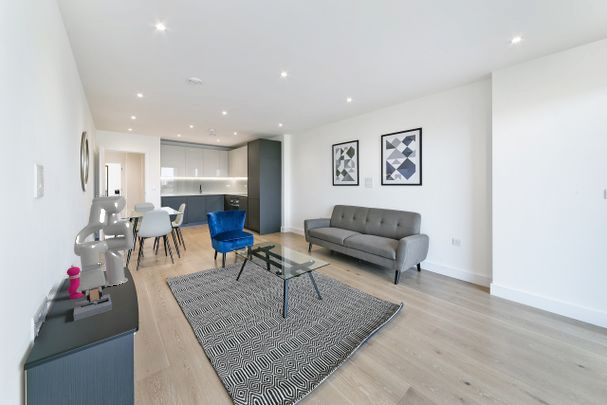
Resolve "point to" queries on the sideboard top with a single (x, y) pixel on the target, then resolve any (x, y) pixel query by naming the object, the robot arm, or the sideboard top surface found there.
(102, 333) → the sideboard top surface
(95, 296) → the keyhole peg
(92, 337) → the sideboard top surface
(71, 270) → the pepper mill
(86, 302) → the keyhole board
